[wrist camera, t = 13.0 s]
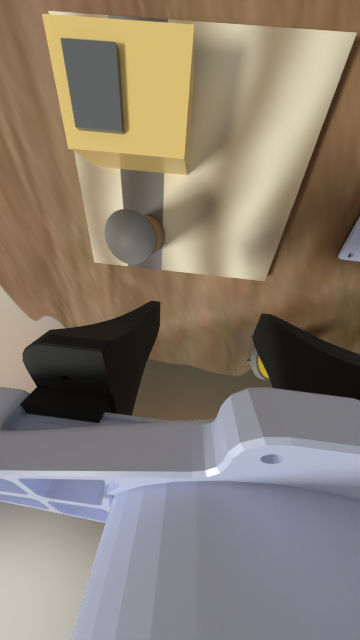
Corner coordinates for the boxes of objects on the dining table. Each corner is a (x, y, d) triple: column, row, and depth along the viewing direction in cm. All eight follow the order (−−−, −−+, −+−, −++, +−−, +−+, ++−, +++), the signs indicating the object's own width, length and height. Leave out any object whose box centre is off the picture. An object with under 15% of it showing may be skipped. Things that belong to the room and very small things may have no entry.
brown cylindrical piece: (169, 220, 16) (156, 217, 11) (162, 257, 18) (149, 269, 13) (133, 210, 16) (104, 202, 11) (130, 248, 18) (104, 257, 12)
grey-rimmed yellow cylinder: (234, 342, 25) (305, 344, 16) (258, 341, 27) (332, 341, 18) (237, 377, 25) (312, 399, 15) (261, 373, 27) (339, 390, 18)
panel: (341, 50, 11) (356, 32, 10) (261, 278, 19) (264, 281, 18) (61, 30, 12) (48, 11, 10) (99, 260, 20) (94, 262, 19)
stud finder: (194, 84, 12) (193, 15, 8) (186, 175, 14) (183, 156, 10) (86, 75, 12) (35, 4, 8) (98, 166, 14) (64, 145, 11)
